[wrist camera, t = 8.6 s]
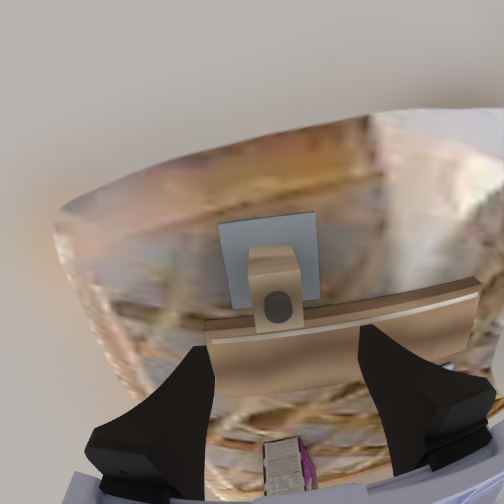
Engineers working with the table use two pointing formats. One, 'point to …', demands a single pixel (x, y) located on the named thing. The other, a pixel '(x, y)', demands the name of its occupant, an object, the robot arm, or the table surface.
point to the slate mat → (266, 233)
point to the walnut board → (338, 339)
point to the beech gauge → (275, 287)
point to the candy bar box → (287, 467)
